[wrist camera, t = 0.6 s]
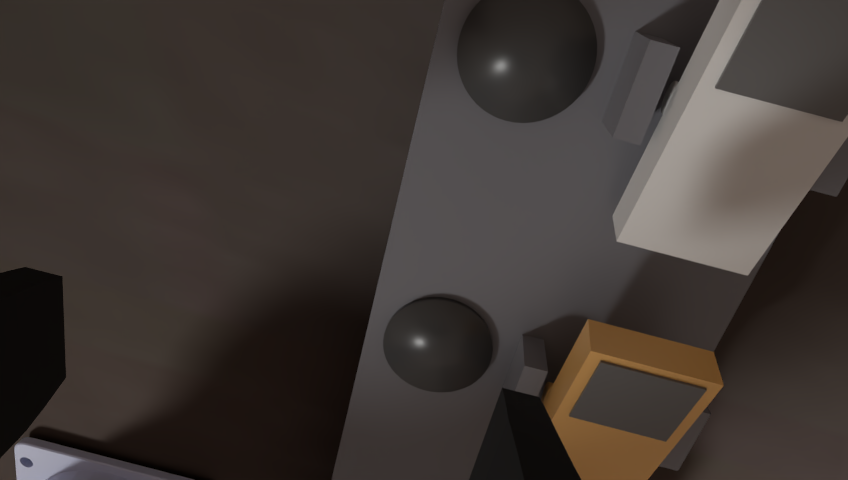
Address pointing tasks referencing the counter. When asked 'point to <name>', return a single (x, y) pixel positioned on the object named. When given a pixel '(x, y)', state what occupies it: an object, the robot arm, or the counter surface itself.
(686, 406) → the rocker middle
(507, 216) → the power strip
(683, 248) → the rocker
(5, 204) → the counter surface
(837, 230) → the counter surface
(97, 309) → the counter surface
